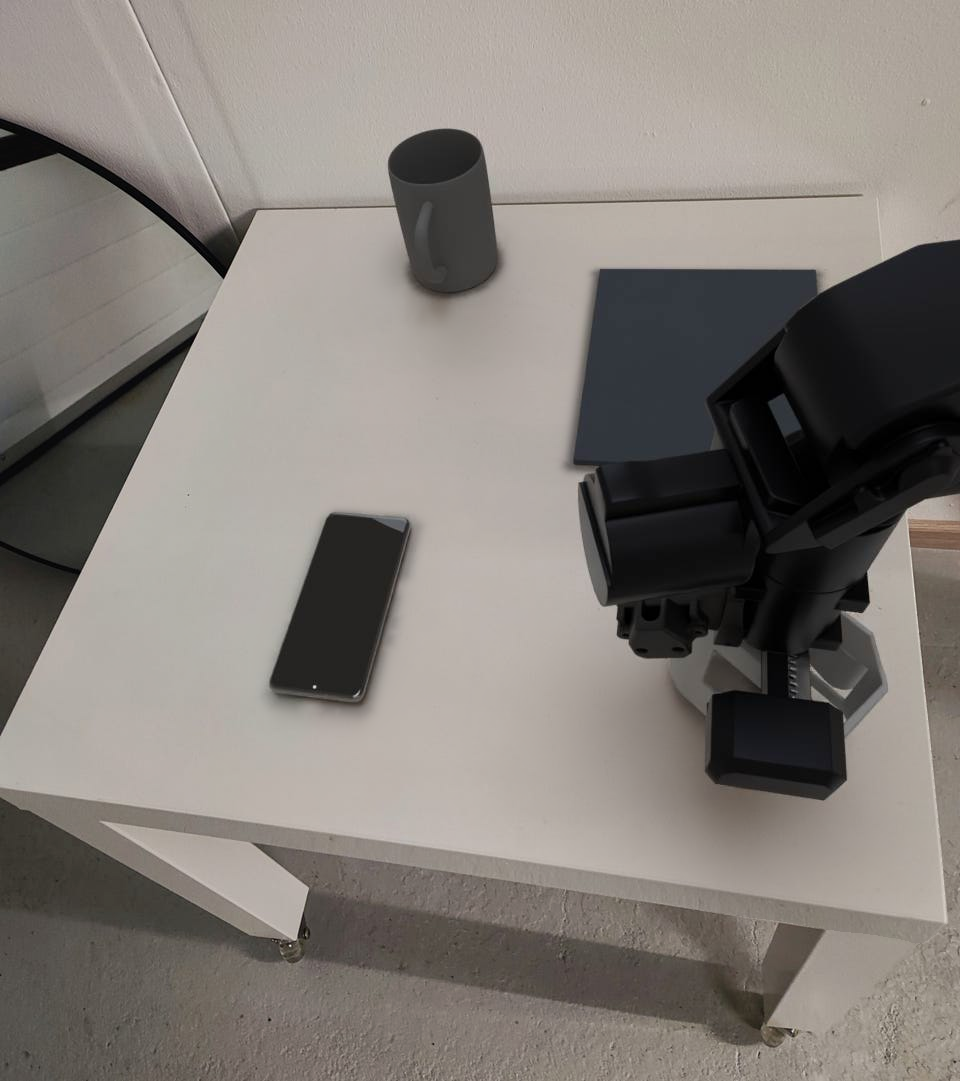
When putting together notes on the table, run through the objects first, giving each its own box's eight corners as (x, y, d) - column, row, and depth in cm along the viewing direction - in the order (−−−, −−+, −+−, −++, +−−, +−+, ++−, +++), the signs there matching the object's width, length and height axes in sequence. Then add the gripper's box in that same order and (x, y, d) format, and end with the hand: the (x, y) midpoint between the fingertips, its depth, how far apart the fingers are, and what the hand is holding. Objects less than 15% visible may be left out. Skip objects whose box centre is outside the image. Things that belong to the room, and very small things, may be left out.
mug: (422, 236, 87) (398, 128, 77) (505, 236, 85) (492, 125, 75) (392, 324, 80) (361, 218, 70) (482, 326, 78) (464, 217, 68)
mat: (814, 274, 76) (815, 269, 75) (829, 477, 63) (830, 472, 63) (599, 273, 80) (599, 268, 79) (573, 464, 67) (573, 459, 67)
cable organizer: (786, 801, 50) (843, 735, 40) (640, 665, 56) (658, 578, 46) (852, 732, 52) (922, 653, 42) (705, 607, 58) (736, 512, 48)
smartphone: (411, 516, 65) (360, 700, 56) (414, 524, 66) (364, 706, 57) (326, 510, 67) (264, 688, 58) (330, 517, 68) (269, 694, 59)
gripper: (643, 377, 43) (622, 536, 56) (611, 706, 33) (595, 806, 46) (863, 393, 41) (788, 554, 54) (898, 746, 32) (797, 838, 45)
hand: (740, 675), depth 50 cm, fingers closed on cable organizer, 8 cm apart
